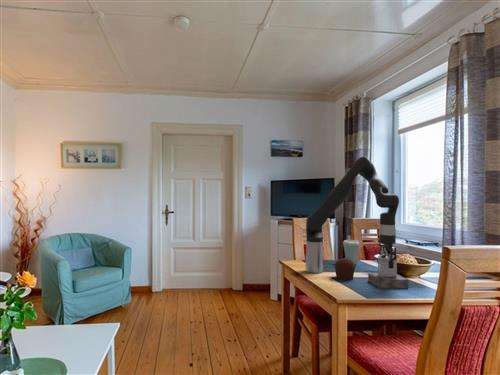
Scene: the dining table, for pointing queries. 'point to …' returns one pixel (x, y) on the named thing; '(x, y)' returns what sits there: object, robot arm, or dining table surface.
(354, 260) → the disposable coffee cup
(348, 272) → the muffin
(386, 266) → the medicine box
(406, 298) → the dining table surface
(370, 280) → the plinth
